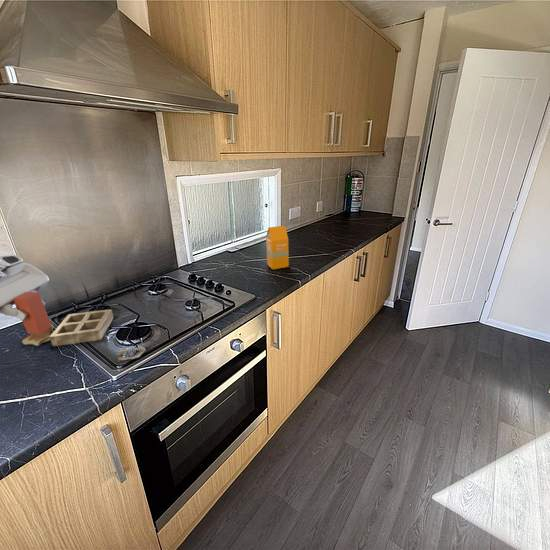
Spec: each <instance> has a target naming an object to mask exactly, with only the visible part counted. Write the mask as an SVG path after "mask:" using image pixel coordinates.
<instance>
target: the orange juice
mask: <svg viewBox="0 0 550 550" xmlns="http://www.w3.org/2000/svg"><path fill="white" fill-rule="evenodd" d="M265 243H266V245H265V246H266V247H265V248H266V265H267V266H268V267H269V268H270V269H271V270H278V269H282V268H283V269H284V268H289V267H290V262H289V261H290V258H289V256H290V253H289V236H288V232H287V229H286V225H279V226H271V227H268V228H267V232H266V236H265Z"/></svg>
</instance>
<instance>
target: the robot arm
mask: <svg viewBox="0 0 550 550" xmlns="http://www.w3.org/2000/svg"><path fill="white" fill-rule="evenodd" d="M23 261H24V258H23V257H21V256H20V255H17V254H16V255H15V254H13V255H2V256H1V255H0V313H1V314H3V315H4V316H10V317H16V318H17V319H19V320H21V321H22V320H24V319H25V318H27V317H28V316H29V312H27V311H26V310H24V309H23V310H18V309H17V308H13V306H14V305H15V303H14V301H13V298H15V297H17V296H19V295H21V294H23V293H25V292H39V291H41V290H43V289H44V288H46V287H47V285H48V284H49V282H50V278H49V276H48V275H47V274H46V273H45V272H43V271H42V270H40V269H39V268H38V267H37V266H34V265H33V264H31V263H29V262H23ZM42 302H43V305H44V307H45V306H46V305H47V303H46V302H45V301H43V300H42Z"/></svg>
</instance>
